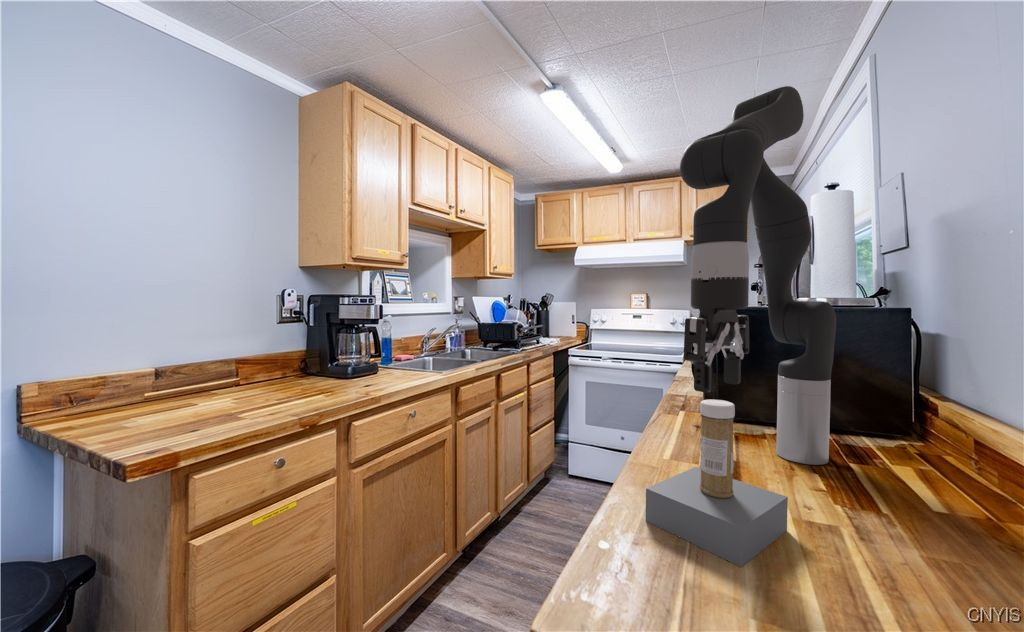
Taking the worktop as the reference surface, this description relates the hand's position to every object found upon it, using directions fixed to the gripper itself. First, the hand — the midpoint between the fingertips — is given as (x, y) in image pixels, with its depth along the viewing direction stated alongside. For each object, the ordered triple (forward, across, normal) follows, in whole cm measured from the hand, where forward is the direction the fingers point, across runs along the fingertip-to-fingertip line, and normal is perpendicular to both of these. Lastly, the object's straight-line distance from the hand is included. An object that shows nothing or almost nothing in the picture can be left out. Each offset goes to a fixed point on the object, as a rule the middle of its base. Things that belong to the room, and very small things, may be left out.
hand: (717, 387), depth 62 cm
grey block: (+21, 0, 0) cm, 21 cm away
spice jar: (+16, 0, 0) cm, 16 cm away
